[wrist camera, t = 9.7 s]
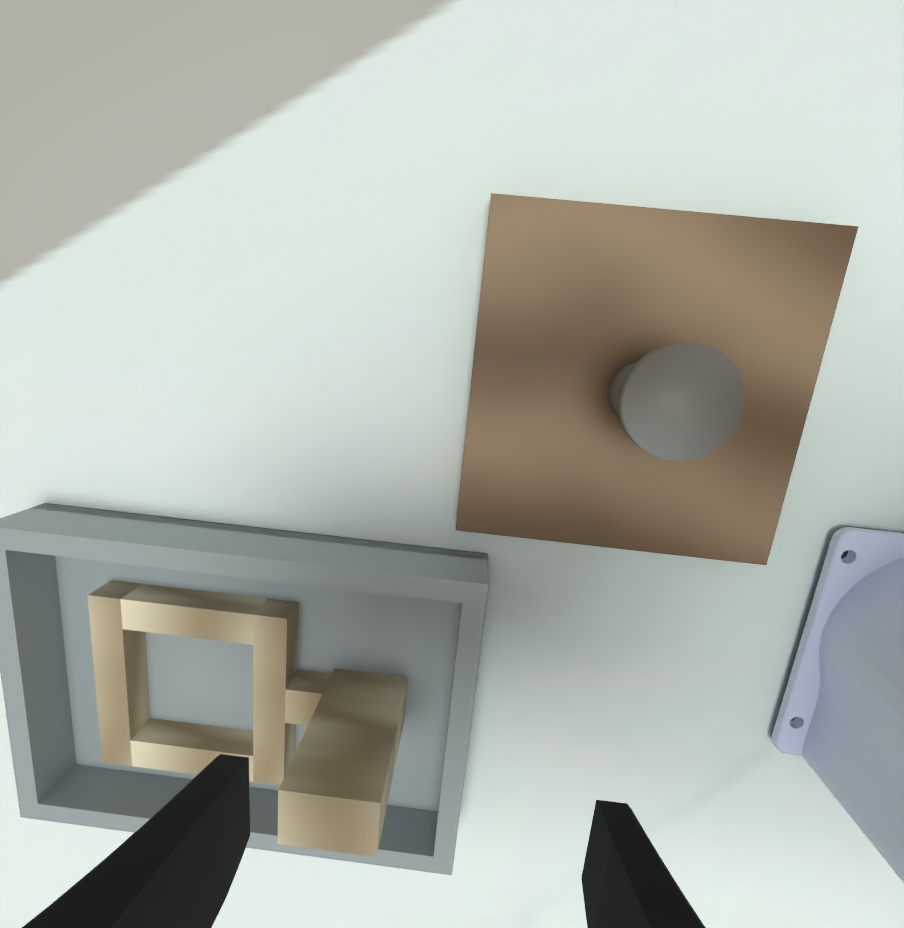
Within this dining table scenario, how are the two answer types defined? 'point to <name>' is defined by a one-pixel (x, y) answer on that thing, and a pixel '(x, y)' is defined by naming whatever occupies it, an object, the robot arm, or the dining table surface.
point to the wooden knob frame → (254, 711)
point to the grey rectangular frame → (235, 661)
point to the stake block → (644, 374)
